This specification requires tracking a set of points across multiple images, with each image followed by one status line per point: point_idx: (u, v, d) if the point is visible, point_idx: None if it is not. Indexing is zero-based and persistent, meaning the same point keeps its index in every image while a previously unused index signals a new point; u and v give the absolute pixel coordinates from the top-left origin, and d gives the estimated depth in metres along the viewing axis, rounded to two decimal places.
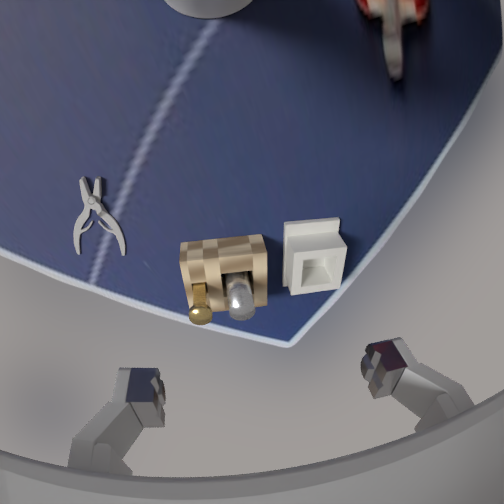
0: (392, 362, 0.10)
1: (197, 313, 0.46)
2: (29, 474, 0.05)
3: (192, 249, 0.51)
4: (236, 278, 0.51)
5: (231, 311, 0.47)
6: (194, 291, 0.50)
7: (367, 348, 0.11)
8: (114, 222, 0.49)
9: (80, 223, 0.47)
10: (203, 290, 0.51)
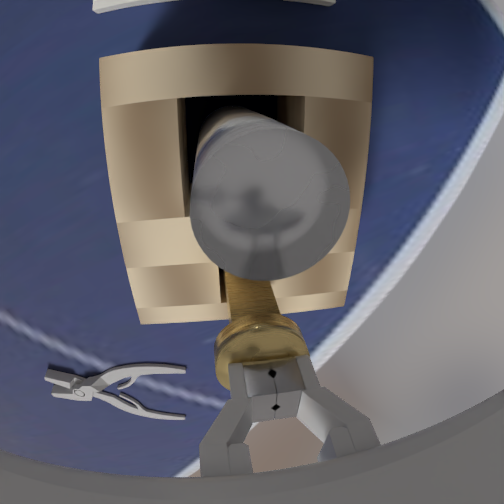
0: (287, 383, 0.10)
1: None
2: (29, 474, 0.05)
3: None
4: None
5: (258, 271, 0.08)
6: (227, 305, 0.16)
7: None
8: (115, 371, 0.26)
9: (126, 407, 0.29)
10: None
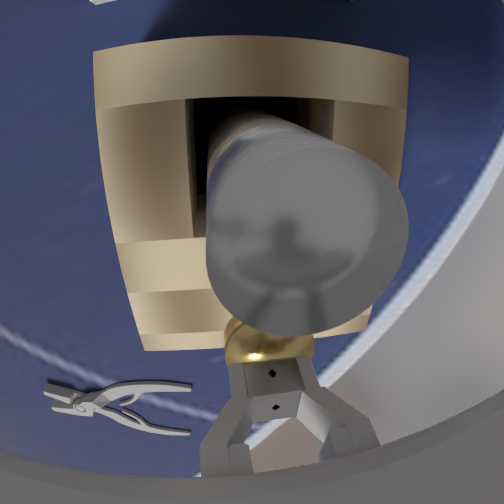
0: (287, 383, 0.10)
1: None
2: (29, 474, 0.05)
3: None
4: None
5: (291, 326, 0.06)
6: None
7: None
8: (117, 388, 0.24)
9: (129, 422, 0.27)
10: None
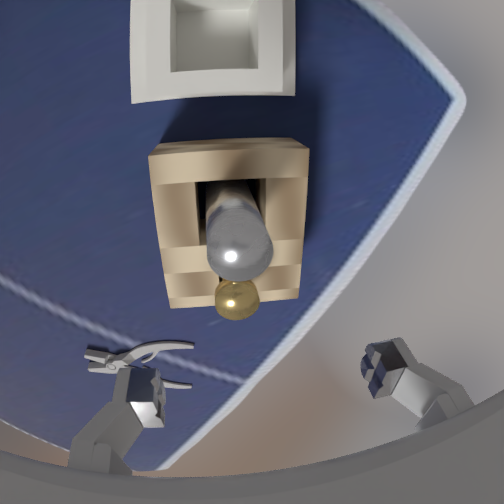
0: (392, 362, 0.10)
1: (226, 307, 0.25)
2: (29, 474, 0.05)
3: None
4: None
5: (235, 277, 0.19)
6: None
7: (367, 348, 0.11)
8: (141, 348, 0.37)
9: None
10: None
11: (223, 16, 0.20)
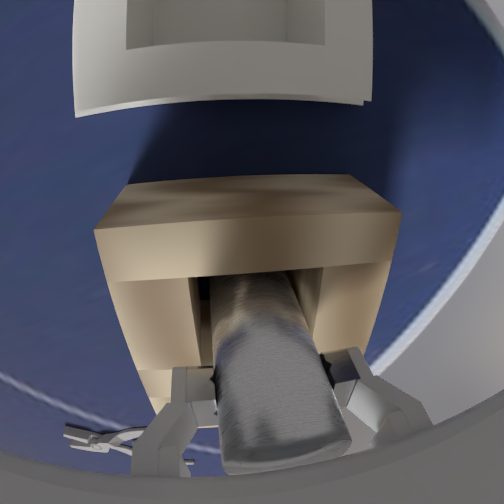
0: (343, 373, 0.10)
1: None
2: (29, 474, 0.05)
3: None
4: None
5: None
6: None
7: (320, 357, 0.11)
8: (130, 432, 0.26)
9: None
10: None
11: None
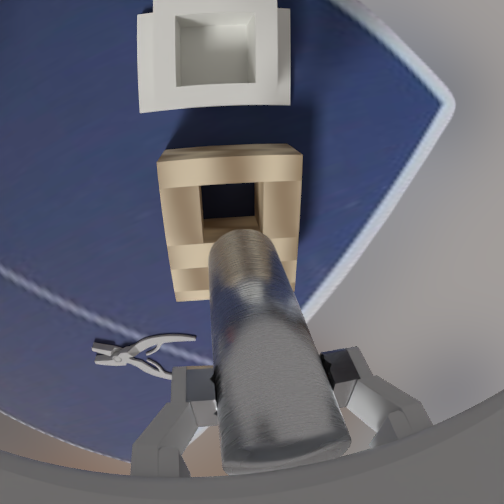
0: (343, 373, 0.10)
1: None
2: (29, 474, 0.05)
3: None
4: (212, 344, 0.13)
5: None
6: None
7: (320, 357, 0.11)
8: (146, 341, 0.40)
9: (150, 370, 0.43)
10: None
11: (223, 31, 0.23)
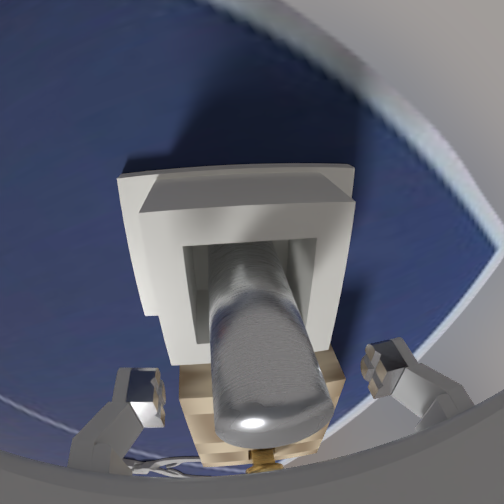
0: (392, 362, 0.10)
1: None
2: (29, 474, 0.05)
3: None
4: None
5: (263, 445, 0.10)
6: None
7: (367, 348, 0.11)
8: (166, 460, 0.35)
9: (170, 474, 0.38)
10: None
11: None
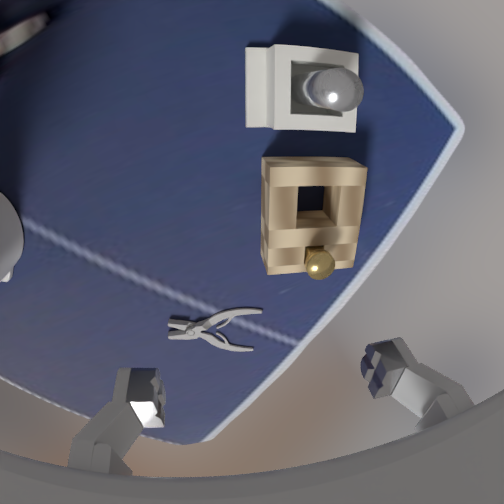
0: (392, 362, 0.10)
1: (314, 270, 0.37)
2: (29, 474, 0.05)
3: (263, 249, 0.42)
4: (302, 90, 0.28)
5: (338, 107, 0.24)
6: None
7: (367, 348, 0.11)
8: (219, 314, 0.49)
9: (217, 342, 0.52)
10: None
11: (311, 70, 0.32)
